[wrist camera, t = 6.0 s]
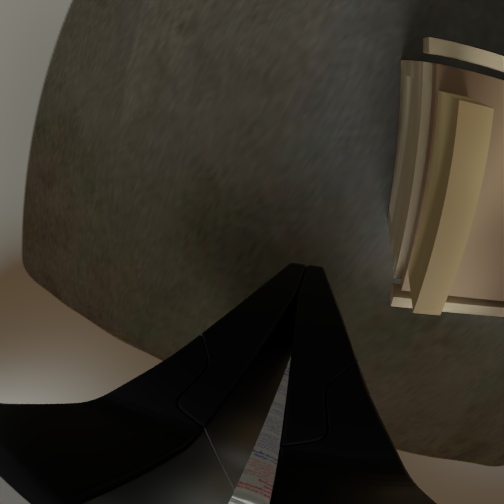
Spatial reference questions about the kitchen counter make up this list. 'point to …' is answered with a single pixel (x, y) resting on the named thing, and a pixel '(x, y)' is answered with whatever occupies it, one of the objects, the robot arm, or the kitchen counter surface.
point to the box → (413, 161)
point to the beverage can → (263, 454)
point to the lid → (460, 195)
